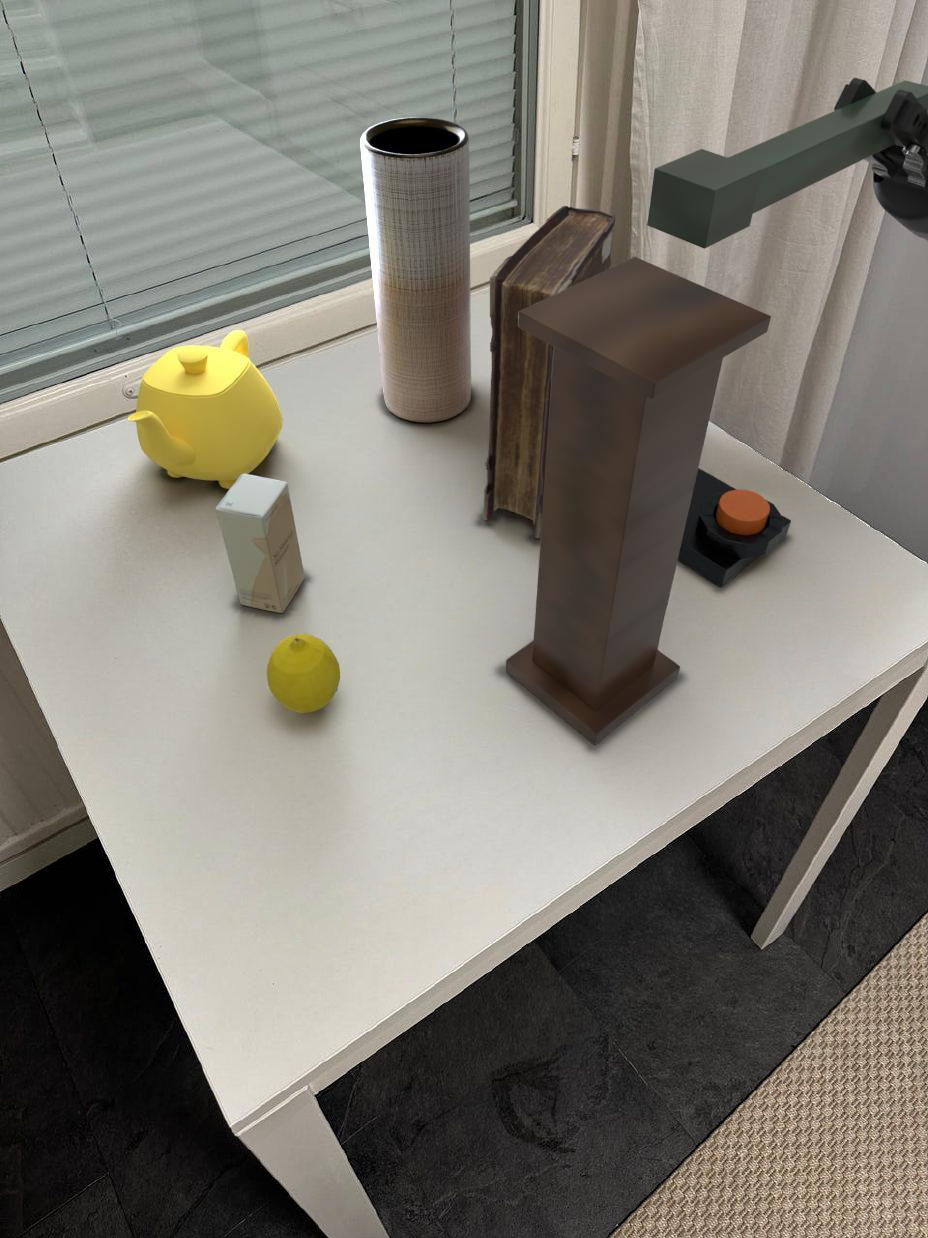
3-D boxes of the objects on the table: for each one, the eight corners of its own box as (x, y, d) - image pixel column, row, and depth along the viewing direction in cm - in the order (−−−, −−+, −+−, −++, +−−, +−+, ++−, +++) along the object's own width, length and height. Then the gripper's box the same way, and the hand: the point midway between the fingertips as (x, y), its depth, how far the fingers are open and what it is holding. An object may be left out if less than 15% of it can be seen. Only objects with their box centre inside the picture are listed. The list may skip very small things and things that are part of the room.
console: (796, 544, 84) (807, 511, 81) (731, 595, 80) (741, 562, 77) (685, 479, 91) (692, 447, 88) (620, 523, 86) (625, 490, 83)
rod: (937, 132, 58) (955, 80, 55) (704, 249, 47) (715, 190, 45) (881, 116, 60) (896, 66, 57) (646, 225, 49) (653, 168, 47)
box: (283, 615, 78) (260, 519, 70) (238, 605, 79) (211, 509, 71) (307, 575, 82) (288, 479, 74) (264, 566, 83) (241, 470, 75)
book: (552, 431, 97) (570, 195, 78) (612, 451, 94) (645, 211, 76) (475, 520, 87) (475, 273, 68) (540, 544, 84) (557, 295, 66)
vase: (489, 395, 101) (491, 132, 81) (429, 435, 96) (416, 164, 76) (425, 365, 106) (412, 108, 86) (366, 401, 101) (337, 137, 81)
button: (775, 520, 81) (779, 505, 80) (745, 542, 79) (750, 527, 78) (735, 497, 83) (739, 482, 82) (705, 518, 81) (709, 503, 80)
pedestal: (677, 677, 73) (771, 315, 50) (594, 745, 69) (654, 382, 45) (588, 612, 78) (634, 256, 55) (505, 671, 74) (518, 311, 50)
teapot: (106, 509, 89) (64, 402, 80) (207, 400, 101) (180, 297, 92) (226, 536, 86) (196, 428, 77) (314, 420, 98) (297, 316, 89)
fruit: (261, 708, 72) (242, 642, 66) (312, 667, 74) (297, 600, 68) (309, 745, 69) (293, 680, 63) (359, 701, 72) (348, 635, 66)
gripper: (886, 104, 69) (804, 10, 56) (1068, 153, 62) (1023, 58, 49) (834, 204, 72) (745, 137, 59) (1002, 261, 65) (943, 199, 52)
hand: (871, 102), depth 54 cm, fingers closed on rod, 2 cm apart
